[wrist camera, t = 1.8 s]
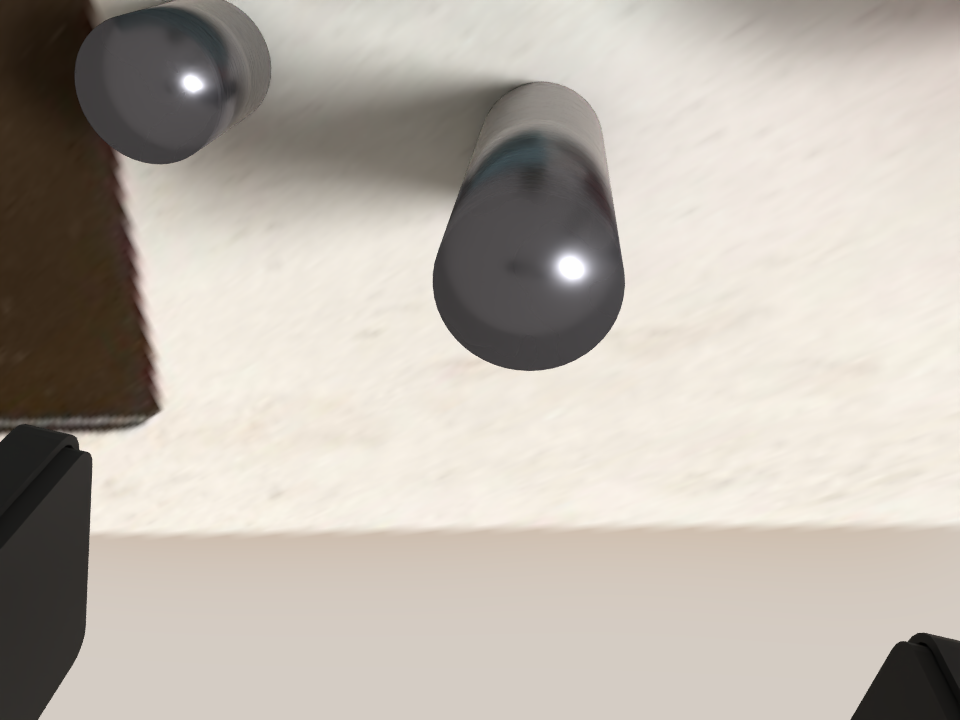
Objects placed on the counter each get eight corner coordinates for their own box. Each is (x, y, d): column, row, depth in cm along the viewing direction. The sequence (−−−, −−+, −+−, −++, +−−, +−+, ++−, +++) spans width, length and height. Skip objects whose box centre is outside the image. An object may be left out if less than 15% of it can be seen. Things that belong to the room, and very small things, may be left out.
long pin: (495, 68, 29) (455, 170, 18) (618, 99, 29) (650, 219, 18) (468, 188, 31) (416, 346, 20) (583, 217, 31) (593, 389, 20)
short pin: (152, -19, 28) (75, -3, 24) (278, 12, 29) (225, 34, 24) (145, 108, 30) (73, 144, 26) (263, 137, 30) (211, 179, 26)
